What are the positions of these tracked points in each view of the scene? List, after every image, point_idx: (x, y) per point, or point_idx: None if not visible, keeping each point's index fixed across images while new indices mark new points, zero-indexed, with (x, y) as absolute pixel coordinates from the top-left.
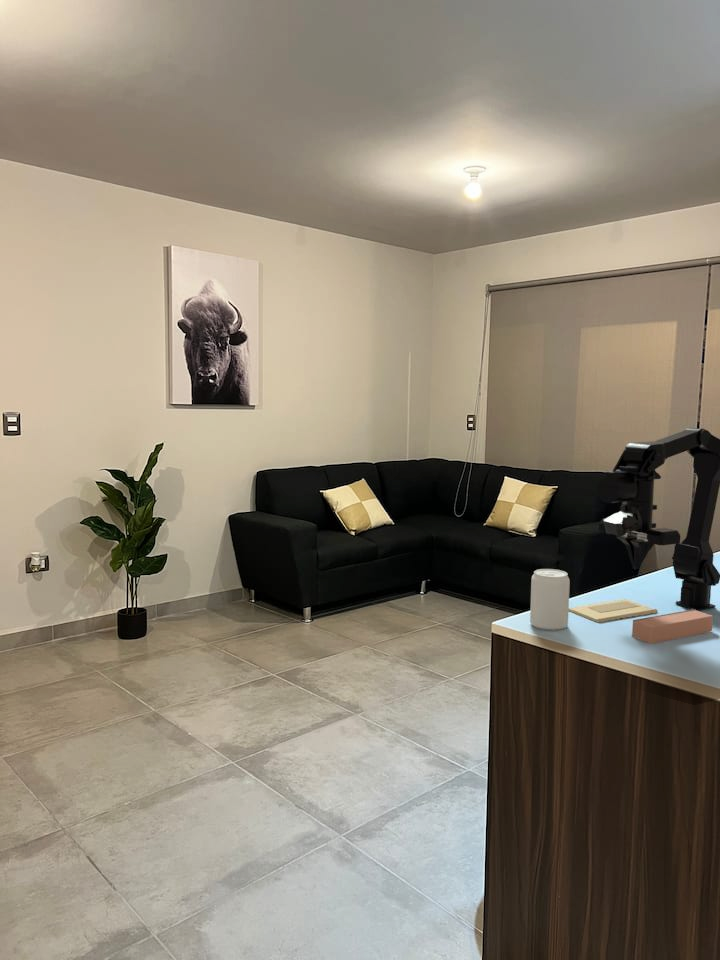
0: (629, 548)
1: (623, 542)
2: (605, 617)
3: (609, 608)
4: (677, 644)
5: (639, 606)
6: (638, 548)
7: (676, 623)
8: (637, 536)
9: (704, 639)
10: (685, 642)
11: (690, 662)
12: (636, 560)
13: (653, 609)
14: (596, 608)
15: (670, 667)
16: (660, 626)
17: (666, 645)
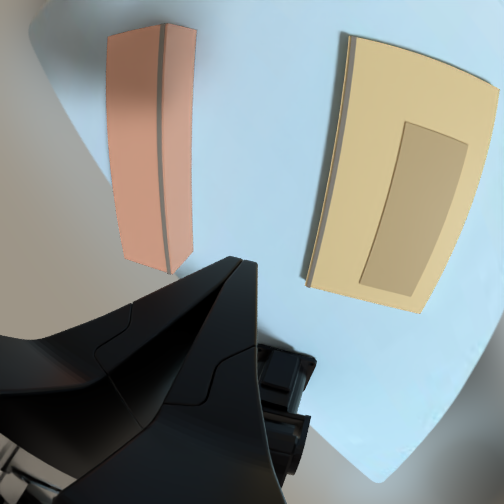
0: (197, 387)
1: (271, 485)
2: (358, 81)
3: (412, 188)
4: None
5: (358, 281)
6: (50, 340)
7: (109, 131)
8: (2, 470)
9: None
10: None
11: (60, 50)
12: (178, 283)
13: (315, 283)
14: (442, 153)
15: (63, 4)
16: (108, 69)
17: None
